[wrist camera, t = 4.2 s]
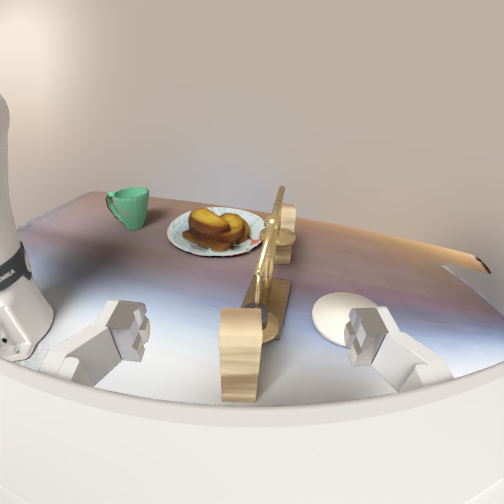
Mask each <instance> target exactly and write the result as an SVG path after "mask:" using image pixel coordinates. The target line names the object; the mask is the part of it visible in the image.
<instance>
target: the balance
mask: <svg viewBox="0 0 504 504" xmlns="http://www.w3.org/2000/svg"><path fill="white" fill-rule="evenodd" d="M284 191H285V187H284V186H280V187H279V190H278V193H277V197H276V200H275V204H274V207H273V210H272V214H271V215H269V216H267V217H266V218H265V220H264V226H265V228H264V229H262V230H261V231H260V236H259V238H260V240H261V241H262V242H263V245H262V248H261V252H260V255H259V259H258V262H257V265H256V269H255V274H256V275H254V276H253V279H252V281H251V284H250V286H249V289H248V291H247V293H246V296H245V298H244V301H243V303H242V305H241V308H254V309H261V319H262V334H263V338H262V344H263V343H266V342H269V341H271V340H272V339H275V340H279V339H280V334H281V330H282V325H283V320H284V316H285V311H286V306H287V301H288V296H289V291H290V286H291V281H289V280H283V279H276V278H273V272H274V262H275V252H276V247H286V246H290V245H292V244H294V243H295V240H296V235H295V233H294V232H293V231H291V230H289V229H286V228H282V227H280V226H281V211H282V200H283V195H284ZM262 274H263V276H261V275H262Z"/></svg>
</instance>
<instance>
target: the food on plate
mask: <svg viewBox="0 0 504 504" xmlns="http://www.w3.org/2000/svg"><path fill="white" fill-rule="evenodd" d="M264 228H265V226H264V220H263V219H262V218H261V217H259V216H258V215H255V214H253V213H251V212H248V211H243V210H240V209H233V208H222V207H214V208H212V207H206V208H199V209H195V210H193V211H189V212H187V213H184V214H183V215H181V216H179V217H178V218H176V219H174V220H173V221H172V222H171V223H170V224H169V226H168V228H167V230H166V234H167V235H166V236H167V239H168V240H169V242H171V243H173V245H174V246H177V247H176V248H180V249H182V250H184V251H186V252H187V251H188V252H191V253H193V254H195V255H202V256H204V255H206V256H226V255H229V256H233V255H235V254H240V253H241V254H242V253H245V252H249V250H250V249H252V248H253V247H255V246H257V245H258V244H259V243H260V242H261V240H260V238H259V236H260V231H261V230H262V229H264ZM189 243H191V244H193V245H196V246H199V247H200V248H202V249H204V251H202V250H198V249H193V248H192V246H191V245H190V244H189ZM240 245H241V248H239V249H236V250H231V247H237V246H240ZM246 249H249V250H246Z"/></svg>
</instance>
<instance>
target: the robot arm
mask: <svg viewBox="0 0 504 504" xmlns="http://www.w3.org/2000/svg"><path fill="white" fill-rule="evenodd" d="M8 128H9V110H8V106H7V104H6V101H5V100H4V98H3V97H2V96H1V95H0V504H504V361H503V362H501V363H498V364H496V365H493V366H491V367H488V368H485V369H483V370H480V371H477V372H474V373H471V374H468V375H465V376H461V377H458V378H455V379H454V377H453V375H452V373H451V371H450V369H449V368H448V366H447V364H446V362H445V360H444V359H443V358H442V357H440V356H439V355H437V354H436V353H434V352H433V351H431V350H430V349H428V348H427V347H425V346H424V345H422V344H421V343H419V342H418V341H416V340H415V339H413V338H412V337H410V336H409V335H407V334H406V333H404V332H400V330H399V329H398V327H397V325H396V323H395V321H394V320H393V318H392V316H391V314H390V313H389V311H388V309H387V308H386V307H385V306H384V307H374V308H352V309H351V311H350V313H349V319H350V321H349V322H348V323H346V325H345V328H344V342H345V346H346V347H347V348H349V349H350V351H349V354H348V355H349V357H350V360H351V363H352V366H365V365H371V366H372V367H373V368H374V369H375V370H376V371H377V372H378V373H379V374H380V375H381V376H382V377H383V378H384V379H385V380H386V381H387V382H388V383H389V384H390V385H391V386H392V387H393V388H394V389H395V390H396V391H397V392H398V393H393V394H388V395H383V396H377V397H371V398H364V399H357V400H349V401H341V402H332V403H321V404H308V405H290V406H226V405H208V404H195V403H185V402H175V401H167V400H159V399H152V398H146V397H139V396H134V395H128V394H123V393H117V392H112V391H108V390H103V389H99V388H95V387H94V386H95V385H96V384H97V383H98V382H99V381H100V380H101V379H102V378H104V377H105V376H106V375H107V374H108V373H109V372H110V371H111V370H112V369H113V368H114V367H116V366H117V365H118V364H119V363H120V362H121V361H122V360H127V361H135V362H141V360H142V357H143V354H144V351H145V348H144V344H145V343H146V342H148V339H149V335H150V323H149V319H148V318H147V317H146V316H145V314H146V311H147V310H146V306H145V304H144V303H141V302H132V301H123V300H121V301H120V300H113V299H110V300H108V301H107V303H106V305H105V306H104V308H103V310H102V311H101V313H100V315H99V317H98V319H97V320H96V322H95V324H94V325H89V326H88V327H86V328H85V329H83V330H81V331H80V332H78V333H76V334H75V335H73V336H72V337H70V338H68V339H67V340H65V341H63V342H62V343H60V344H59V345H57V346H55V347H54V348H52V349H51V350H49V352H48V353H47V355H46V357H45V359H44V360H43V362H42V364H41V366H40V368H39V369H38V371H35V370H32V369H30V368H27V367H24V366H21V365H19V364H16V363H14V362H13V361H18V360H23V359H27V358H28V357H29V356H30V355H31V354H32V352H33V350H34V347H35V345H36V344H37V343H38V342H39V341H40V340H41V338H42V337H43V336H44V335H45V334H46V333H47V331H48V330H49V328H50V326H51V324H52V321H53V317H54V313H53V309H52V307H51V305H50V304H49V303H48V302H47V301H46V299H45V298H44V296H43V295H42V293H41V292H40V290H39V288H38V287H37V285H36V283H35V281H34V279H33V277H32V270H31V266H30V263H29V260H28V257H27V254H26V250H25V249H24V246H23V243H22V242H21V241H20V240H19V237H18V233H17V230H16V226H15V222H14V217H13V213H12V209H11V204H10V198H9V189H8V148H7V147H8V145H7V135H8Z"/></svg>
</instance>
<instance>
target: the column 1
mask: <svg viewBox="0 0 504 504" xmlns="http://www.w3.org/2000/svg"><path fill="white" fill-rule="evenodd" d="M262 338H263V334H262V319H261V309H254V308H221V318H220V328H219V350H220V369H221V386H222V401H230V402H255V401H256V393H257V384H258V375H259V366H260V357H261V347H262Z"/></svg>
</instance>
